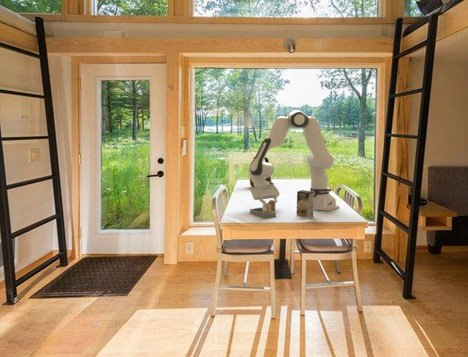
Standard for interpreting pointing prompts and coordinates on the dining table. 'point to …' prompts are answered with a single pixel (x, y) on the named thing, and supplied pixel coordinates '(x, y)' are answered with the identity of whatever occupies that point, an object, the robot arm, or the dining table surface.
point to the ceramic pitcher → (265, 179)
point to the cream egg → (266, 208)
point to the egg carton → (260, 213)
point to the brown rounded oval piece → (272, 205)
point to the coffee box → (305, 203)
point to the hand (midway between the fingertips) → (270, 203)
